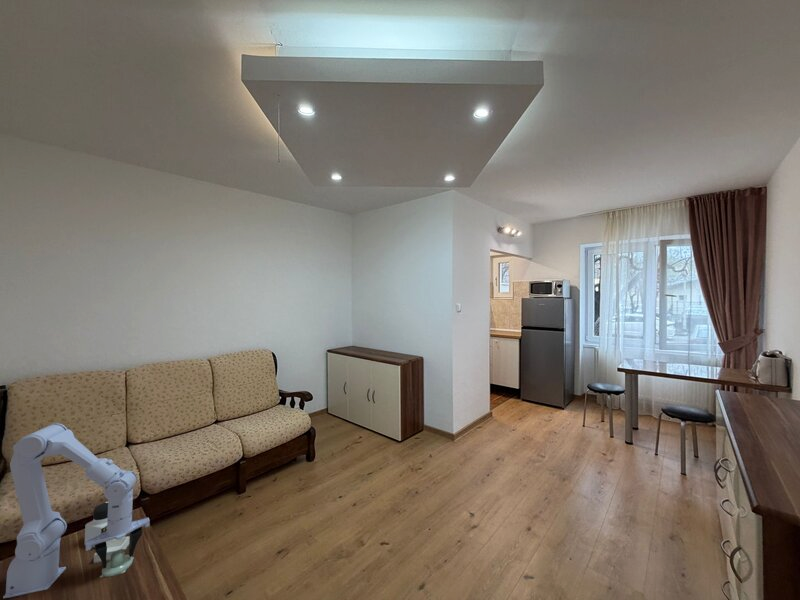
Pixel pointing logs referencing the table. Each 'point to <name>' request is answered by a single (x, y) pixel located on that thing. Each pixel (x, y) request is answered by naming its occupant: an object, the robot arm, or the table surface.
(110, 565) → the lid
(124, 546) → the dish
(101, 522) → the medicine bottle
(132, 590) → the table surface
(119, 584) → the table surface
